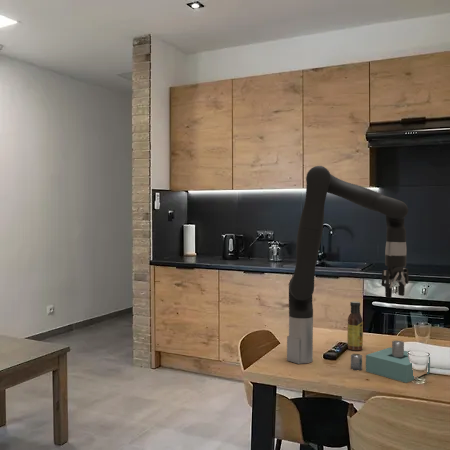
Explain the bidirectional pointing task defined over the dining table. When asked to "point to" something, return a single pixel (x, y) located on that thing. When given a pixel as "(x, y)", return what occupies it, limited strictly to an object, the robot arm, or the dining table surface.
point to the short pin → (356, 361)
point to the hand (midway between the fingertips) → (394, 296)
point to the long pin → (398, 349)
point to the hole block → (390, 365)
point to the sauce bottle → (355, 327)
